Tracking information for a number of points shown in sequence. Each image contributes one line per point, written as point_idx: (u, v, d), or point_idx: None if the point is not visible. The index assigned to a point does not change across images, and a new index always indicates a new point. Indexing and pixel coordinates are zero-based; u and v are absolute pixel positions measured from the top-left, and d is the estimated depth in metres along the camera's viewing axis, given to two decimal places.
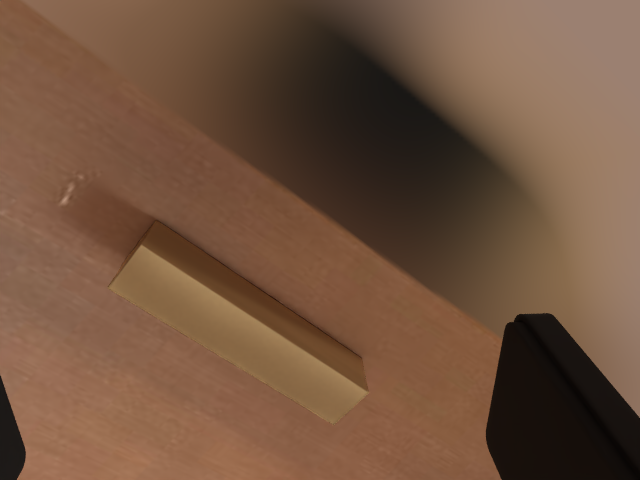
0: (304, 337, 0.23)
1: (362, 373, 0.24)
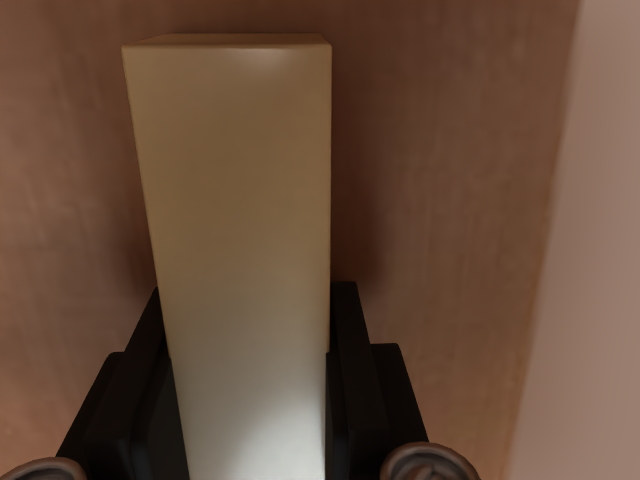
0: None
1: None
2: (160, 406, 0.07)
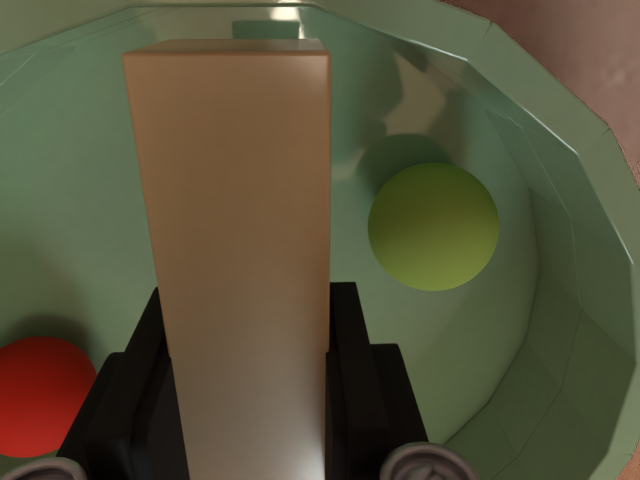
0: None
1: None
2: (160, 407, 0.07)
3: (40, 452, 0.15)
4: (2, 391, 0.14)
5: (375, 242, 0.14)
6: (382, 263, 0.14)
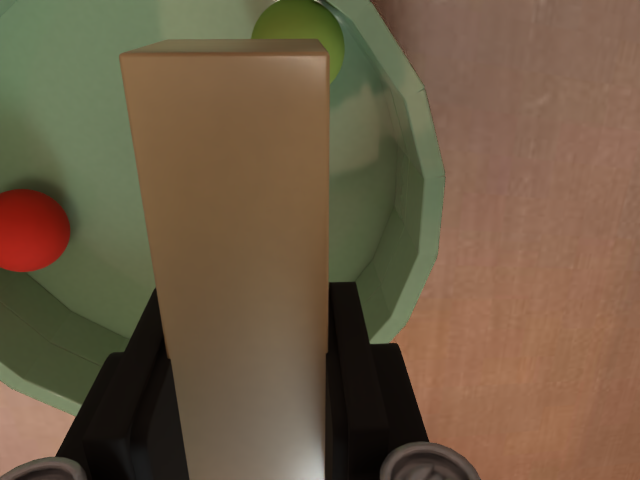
0: None
1: None
2: (160, 406, 0.07)
3: (26, 264, 0.21)
4: None
5: (252, 37, 0.19)
6: None
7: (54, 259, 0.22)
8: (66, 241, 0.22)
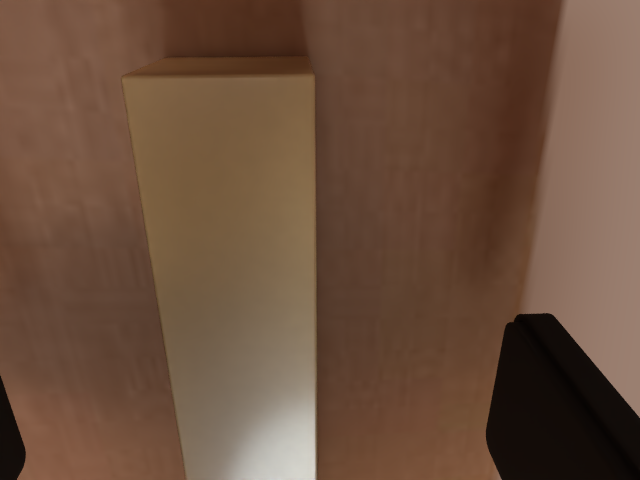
0: None
1: None
2: None
3: None
4: None
5: None
6: None
7: None
8: None
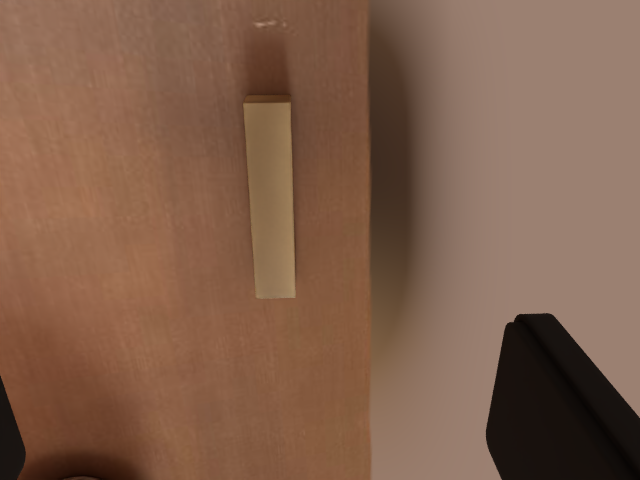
0: None
1: (295, 285, 0.33)
2: None
3: None
4: None
5: None
6: None
7: None
8: None
